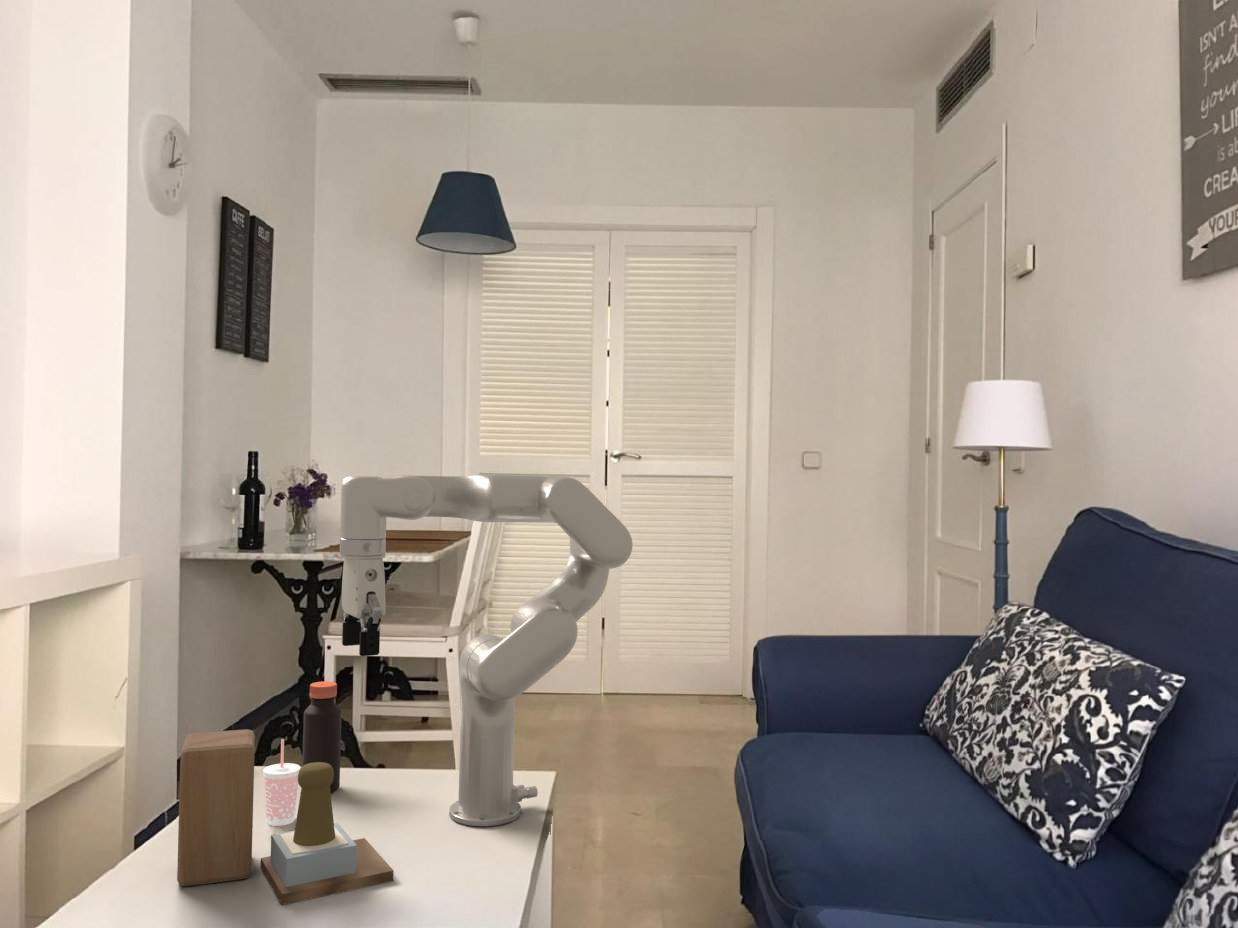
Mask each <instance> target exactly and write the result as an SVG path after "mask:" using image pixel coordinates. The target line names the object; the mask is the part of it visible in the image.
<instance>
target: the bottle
mask: <svg viewBox="0 0 1238 928" xmlns="http://www.w3.org/2000/svg"><path fill="white" fill-rule="evenodd" d="M337 694H338V683H336V682H334V681H326V680H325V681H317V682H316V681H315V682H312V683H310V685H309V700H310V704H309V705H308V707H306V708H305V710H303V711H304V712H303V726H302V727H303V730H302V731H303V732H302V733H303V734H302V765H301V767H303V766H304V765H306V764H309V763H314V762H323V763H328V764H330V765H331V766H332V768H333V770H334V779H333V782H332V784H331V785H330V792H331V794H335V793H336V792H337V791H338V790H339V789H340V783H341V782H340V779H341V747H342V746H341V744H342V741H341V740H342V709H341V707H340V706H339V705H338V704H337V703H336V700H335V699H337Z"/></svg>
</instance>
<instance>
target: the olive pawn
mask: <svg viewBox="0 0 1238 928" xmlns="http://www.w3.org/2000/svg"><path fill="white" fill-rule="evenodd" d="M302 766H303V765H302ZM302 766H300V767H301V769H300V770H299V773H298V785H299V787H300V788H301V790H300V795H299V802H298V807H297V814H296V818H295V826H294V830H293V831H294V837H293V842H294V843H296V844H298V845H302V846H317V845H322V844H326V843H328V842H330V841H332V840H333V839H334V838H335V829H334V823H335V822H334V813H333V804H332V803H333V802H332V801H333V800H332V795H331V792H330V785H331V784H332V782H333V779H334V770H333V768H332V766H331V765H330V764H328V763H323V762H314V763H309V764H306V765H304V766H303V767H302Z"/></svg>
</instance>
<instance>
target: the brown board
mask: <svg viewBox="0 0 1238 928" xmlns="http://www.w3.org/2000/svg"><path fill="white" fill-rule="evenodd" d="M352 840H353V841H354V843H355V844H356V845H357V859H356V873H351V874H346V875H342V876H337V877H332V878H327V879H323V880H318V881H313V882H308V883H304V884H299V885H294V886H289V887H286V886H285V884H284V883H283V881H282V880H281V878H280V876H279V875H278V873H277V871H276V870H275V868H274V866H273V865H272V863H271V861H270V860H271V855H269V856H263V857H260V866H259V867H260V869H261V871H262V873H263V874H264V876H265V879H266V880H267V882H268V883H269V885H270V887H271V888H272V891H273V892H274V894H275V896H276V897H277V899H278V901H279V903H280V902H281V903H280V905H282V906H283V905H289V904H293V903H297V902H302V900H303V901H307V900H310V899H311V898H312V899H315V898H321V897H325V896H329V895H334V894H339V893H343V892H348V891H352V890H356V889H360V888H361V889H362V888H365V887H370V886H371V887H372V886H375V885H379V884H383V883H388V882H394V869H393V868H392V867H391V866H390V865H389V863H388V862H387V861H386V860H385V859H384V858H383V857H382V855H380V853H379V852H377V850H376V849H375V848H374V846H373V845H372V844H371V843H370V842H369V841H368V840H367V839H366V837H363V838H358V839H352ZM305 899H306V900H305ZM312 899H311V900H312ZM292 902H293V903H292ZM288 903H289V904H288Z"/></svg>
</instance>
